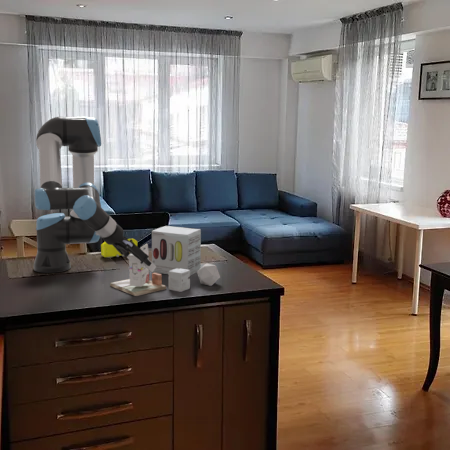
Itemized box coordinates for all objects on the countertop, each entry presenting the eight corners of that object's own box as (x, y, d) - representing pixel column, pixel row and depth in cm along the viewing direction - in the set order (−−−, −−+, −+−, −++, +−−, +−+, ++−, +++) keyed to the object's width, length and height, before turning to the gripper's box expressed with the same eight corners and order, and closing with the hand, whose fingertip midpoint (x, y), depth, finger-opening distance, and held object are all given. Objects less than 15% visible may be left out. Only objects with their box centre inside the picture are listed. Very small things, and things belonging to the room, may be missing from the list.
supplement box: (150, 272, 245) (150, 230, 242) (165, 265, 258) (165, 225, 254) (188, 277, 239) (188, 234, 236) (201, 270, 251) (201, 228, 248)
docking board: (110, 285, 226) (110, 272, 225) (140, 279, 235) (140, 267, 234) (135, 296, 213) (135, 282, 212) (166, 289, 223) (166, 275, 222)
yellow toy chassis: (104, 259, 268) (104, 241, 267) (101, 256, 273) (100, 239, 272) (137, 255, 276) (137, 238, 274) (133, 253, 281) (133, 236, 279)
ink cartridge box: (136, 279, 224) (136, 242, 221) (149, 280, 223) (148, 242, 220) (128, 286, 216) (128, 246, 213) (141, 286, 215) (141, 247, 212)
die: (224, 285, 231) (218, 263, 235) (217, 279, 223) (212, 257, 227) (204, 291, 232) (199, 269, 236) (197, 286, 225) (192, 263, 228)
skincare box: (181, 292, 219) (181, 273, 218) (168, 289, 222) (168, 270, 221) (190, 288, 224) (190, 269, 223) (177, 285, 227) (177, 267, 226)
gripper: (87, 233, 213) (125, 269, 227) (118, 243, 198) (157, 281, 212) (99, 218, 216) (136, 254, 229) (131, 226, 201) (169, 264, 214)
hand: (146, 266), depth 220 cm, fingers closed on ink cartridge box, 8 cm apart
